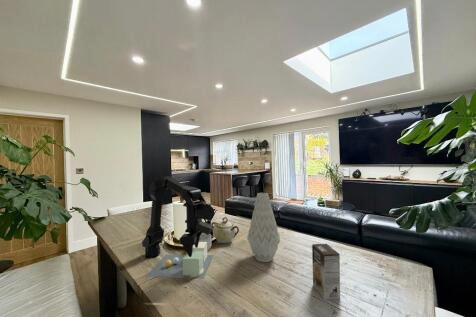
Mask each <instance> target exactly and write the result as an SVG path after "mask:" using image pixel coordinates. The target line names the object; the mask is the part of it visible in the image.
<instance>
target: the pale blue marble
mask: <svg viewBox="0 0 476 317" xmlns="http://www.w3.org/2000/svg"><path fill="white" fill-rule="evenodd" d="M178 262H179V258H177V257H175V258H174V259H173V264H178Z"/></svg>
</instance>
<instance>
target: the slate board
mask: <svg viewBox="0 0 476 317" xmlns="http://www.w3.org/2000/svg"><path fill="white" fill-rule="evenodd" d="M185 255H186V254H174V253H173V254H172V253H171V254H164V256H162V258H161V259H160V260H159V261H158V262H157V263H156V264H155V265H154V267H152V269H150V271H149V272H148V273H147V274H146V275H145V276H144V278H165V279H166V278H167V279H168V278H171V279H199V280H200V279H203V280H204V279H205V278H206V275H207V273H208V270H209V268H210V265H211V263H212V261H213V260H214V256H215V254H207V257H206V259H205V261H204V262H203V268H204V272H203V273H202V274H201V275H199V276H197V277H186V276H184V275H183V258H184V256H185ZM175 257H177V258H179V262H178V264H173V259H174V258H175ZM167 260H171V262H172V264H171V266H170V267H166V266H165V262H166V261H167Z"/></svg>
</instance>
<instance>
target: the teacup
mask: <svg viewBox="0 0 476 317" xmlns="http://www.w3.org/2000/svg"><path fill="white" fill-rule="evenodd" d="M199 242H207V252H209V250H210V249H211V248H212V234H211V233H210V234H209V235H206V234H205V233H202V234H201V235H200V239H199Z"/></svg>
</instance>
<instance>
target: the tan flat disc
mask: <svg viewBox="0 0 476 317" xmlns="http://www.w3.org/2000/svg"><path fill="white" fill-rule="evenodd" d="M203 272H204V268H203V269H202V271H201V273H200V275H201V274H202V273H203ZM184 276H186V277H197V276H199V275H184Z"/></svg>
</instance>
